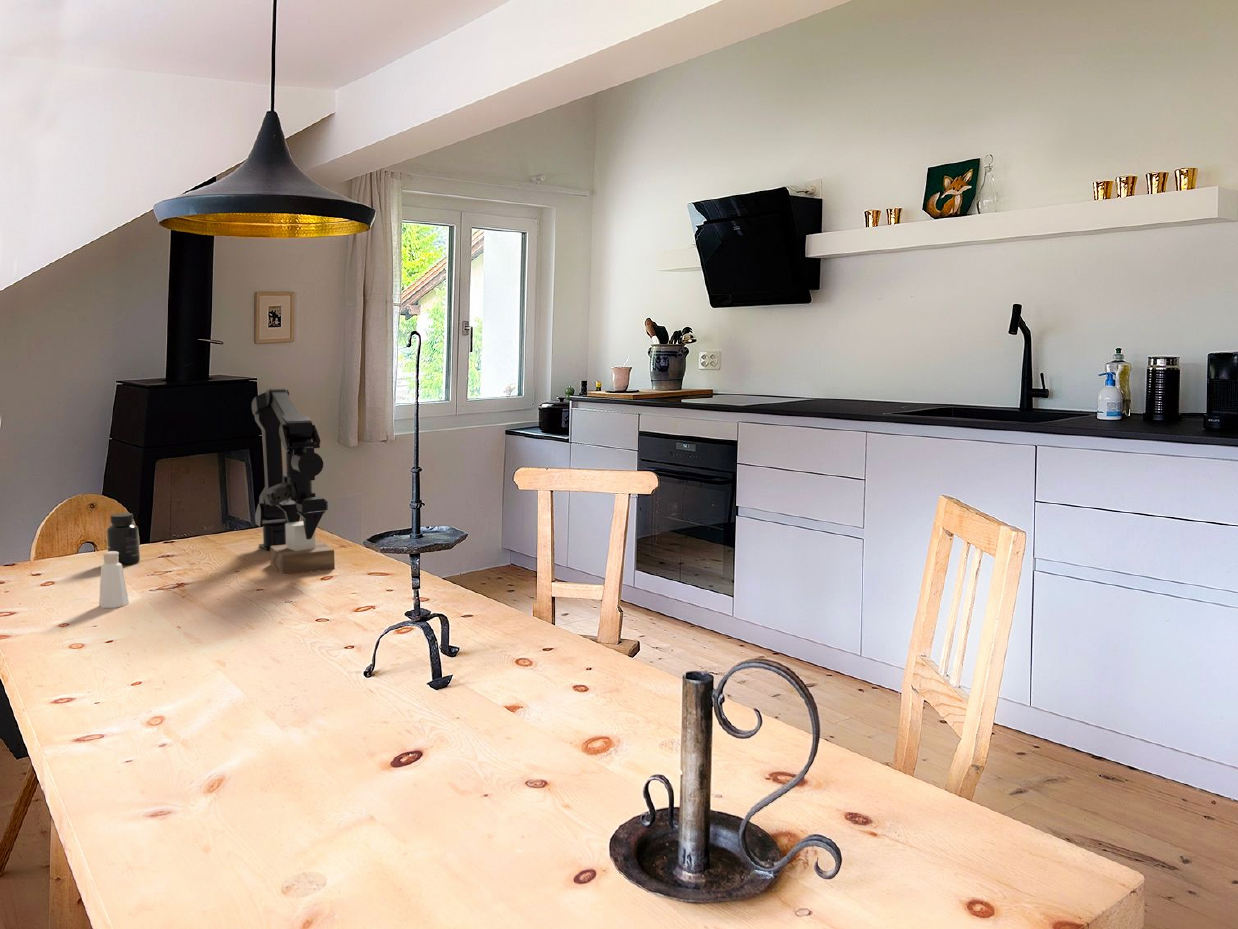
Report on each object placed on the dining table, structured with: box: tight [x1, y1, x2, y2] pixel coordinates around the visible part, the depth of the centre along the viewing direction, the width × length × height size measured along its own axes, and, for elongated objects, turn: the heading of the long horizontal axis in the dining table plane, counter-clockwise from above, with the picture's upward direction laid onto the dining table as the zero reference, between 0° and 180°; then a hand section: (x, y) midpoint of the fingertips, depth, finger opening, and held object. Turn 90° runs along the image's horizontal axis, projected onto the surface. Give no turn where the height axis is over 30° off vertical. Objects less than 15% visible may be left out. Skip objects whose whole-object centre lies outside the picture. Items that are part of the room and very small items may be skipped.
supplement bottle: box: [106, 512, 141, 567], centre depth 229 cm, size 7×7×12 cm
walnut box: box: [269, 540, 335, 575], centre depth 228 cm, size 12×12×5 cm
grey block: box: [286, 520, 316, 551], centre depth 227 cm, size 5×5×6 cm
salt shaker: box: [98, 551, 130, 609], centre depth 194 cm, size 5×5×11 cm
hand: (301, 536), depth 227 cm, fingers open, 9 cm apart
